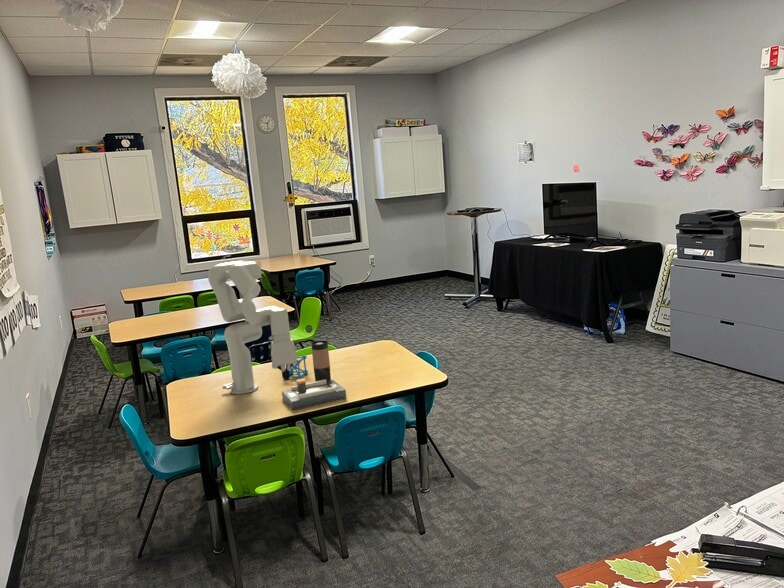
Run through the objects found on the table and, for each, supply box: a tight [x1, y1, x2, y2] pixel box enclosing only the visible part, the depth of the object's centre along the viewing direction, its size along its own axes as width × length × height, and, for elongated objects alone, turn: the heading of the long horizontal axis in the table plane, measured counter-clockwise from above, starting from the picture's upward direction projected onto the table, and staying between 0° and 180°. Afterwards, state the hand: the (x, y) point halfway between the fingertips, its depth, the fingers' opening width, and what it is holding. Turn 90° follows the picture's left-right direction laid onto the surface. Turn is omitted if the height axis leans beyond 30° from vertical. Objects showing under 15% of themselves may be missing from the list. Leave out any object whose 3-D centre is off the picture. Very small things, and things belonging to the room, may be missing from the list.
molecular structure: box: [283, 354, 309, 380], centre depth 290 cm, size 10×10×10 cm
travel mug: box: [311, 340, 332, 382], centre depth 275 cm, size 8×8×20 cm
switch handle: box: [295, 378, 307, 394], centre depth 255 cm, size 3×3×5 cm
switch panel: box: [281, 379, 347, 411], centre depth 257 cm, size 24×16×5 cm, turn 115°
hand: (286, 379), depth 251 cm, fingers closed
